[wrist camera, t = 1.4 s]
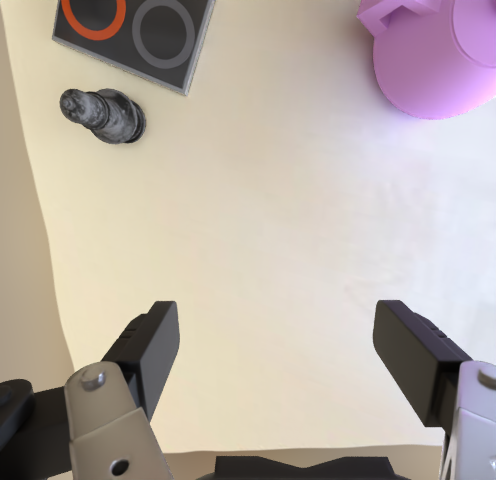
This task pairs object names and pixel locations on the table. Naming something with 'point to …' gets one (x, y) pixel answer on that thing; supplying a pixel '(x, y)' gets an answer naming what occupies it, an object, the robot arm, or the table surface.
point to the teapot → (433, 53)
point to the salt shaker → (105, 114)
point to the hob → (138, 35)
